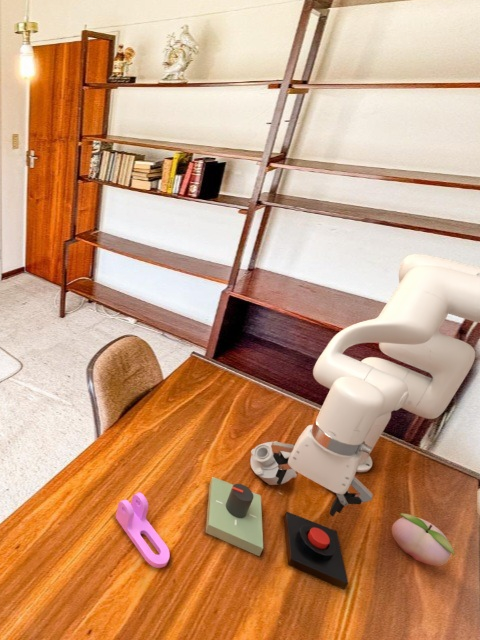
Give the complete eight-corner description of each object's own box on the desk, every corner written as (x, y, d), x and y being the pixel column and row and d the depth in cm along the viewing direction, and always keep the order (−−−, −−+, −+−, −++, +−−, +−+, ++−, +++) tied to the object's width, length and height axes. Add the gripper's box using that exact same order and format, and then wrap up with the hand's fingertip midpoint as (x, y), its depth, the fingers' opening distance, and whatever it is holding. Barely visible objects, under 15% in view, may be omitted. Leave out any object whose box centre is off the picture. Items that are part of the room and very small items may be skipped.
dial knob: (245, 505, 94) (253, 487, 91) (246, 521, 90) (254, 503, 87) (225, 497, 95) (232, 479, 92) (225, 513, 92) (232, 495, 89)
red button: (306, 529, 88) (309, 524, 87) (325, 537, 87) (328, 532, 86) (308, 544, 85) (311, 539, 85) (328, 552, 84) (331, 547, 83)
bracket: (115, 517, 93) (119, 498, 90) (134, 508, 95) (138, 488, 92) (154, 572, 82) (160, 552, 79) (174, 560, 85) (180, 540, 82)
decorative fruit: (444, 562, 86) (468, 533, 82) (431, 583, 82) (456, 555, 78) (391, 525, 93) (410, 497, 89) (377, 543, 89) (397, 515, 85)
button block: (283, 516, 94) (288, 506, 93) (333, 536, 91) (339, 526, 89) (287, 565, 85) (294, 553, 83) (344, 589, 81) (351, 578, 79)
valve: (295, 520, 104) (357, 506, 96) (247, 476, 100) (307, 456, 93) (284, 485, 112) (339, 468, 104) (239, 442, 109) (293, 422, 101)
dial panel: (209, 484, 102) (212, 476, 100) (257, 503, 97) (261, 494, 96) (205, 532, 90) (208, 524, 89) (259, 556, 86) (263, 547, 85)
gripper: (395, 452, 73) (358, 511, 80) (290, 403, 84) (266, 459, 91) (391, 477, 68) (352, 537, 76) (280, 421, 79) (255, 479, 86)
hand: (305, 495), depth 83 cm, fingers open, 9 cm apart
